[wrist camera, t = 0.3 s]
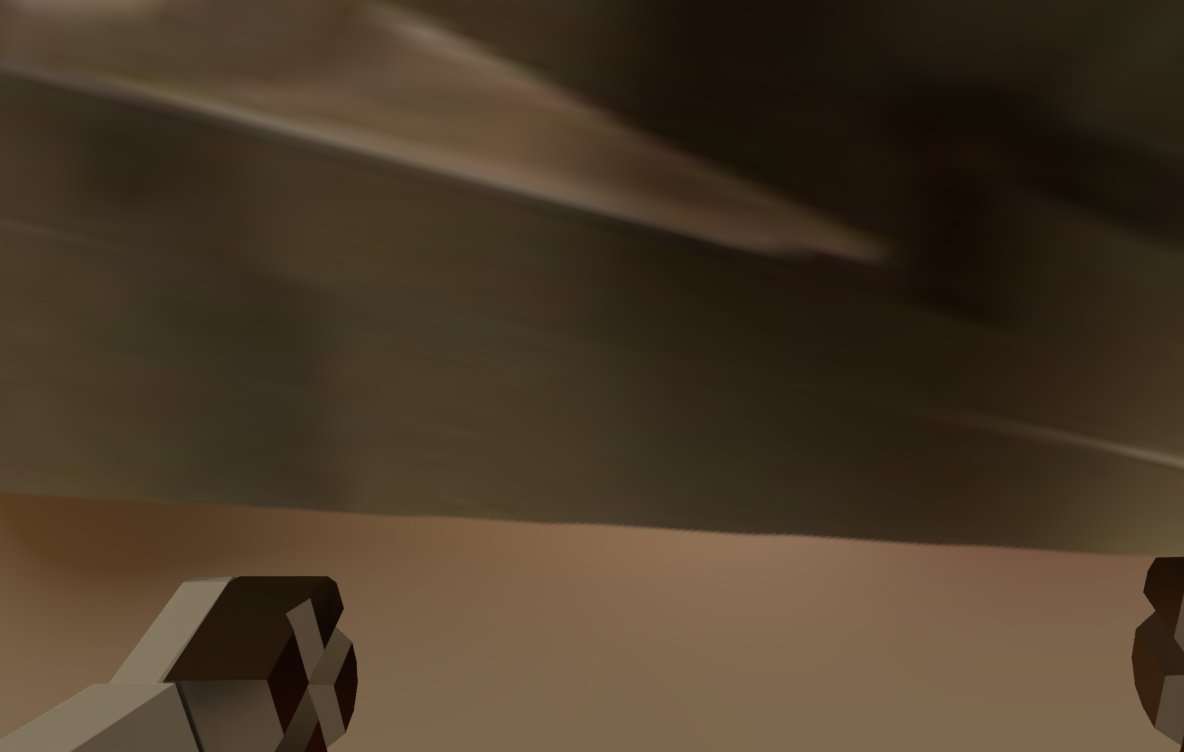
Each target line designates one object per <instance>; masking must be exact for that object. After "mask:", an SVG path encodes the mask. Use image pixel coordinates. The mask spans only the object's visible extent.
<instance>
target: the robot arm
mask: <svg viewBox="0 0 1184 752" xmlns="http://www.w3.org/2000/svg"><path fill="white" fill-rule="evenodd" d="M1143 593H1144V594H1145V596H1146V597H1147V599H1148V600H1149V602H1150V603H1151V604H1152V606H1153V607H1154V609H1155V610H1156V611H1155V612H1154V613H1153V614H1152V615H1151V616H1150V617H1149V618H1147V619H1146V620H1145V621H1144V622H1143V623H1142V624H1141V625H1140V626H1139V627H1138V628H1137V629H1136V632H1135V638H1134V645H1133V652H1132V664H1133V672H1134V680H1135V686H1136V689H1137V692H1138V695H1139V697H1140V701H1141V704H1142V706H1143V708H1144V710H1145V712H1146V714H1147V715H1148V717H1149V719H1150V721H1151V723H1152V724H1153V726H1154V728H1156V729H1157V730H1159V731H1160V732H1162V733H1163V734H1165V735H1166V736H1168V737H1169V738H1171V739H1172V740H1174V741H1176V742H1177V743H1178V744H1180V745H1181V750H1180V752H1184V557H1157V558H1155V560H1154V562H1153V563H1152V565H1151V566H1150V568H1149V570H1148V572H1147V577H1146V581H1145V586H1144V591H1143ZM343 609H344V607H343V603H342V600H341V597H340V593H339V589H338V586H337V583H336V582H335V581H333V580H332V579H331V578H329V577H328V576H240V577H238V578H237V577H195V578H193V579H190V580H188V581H185V582H183V583H182V584H181V586H180V587H179V589H178V590H177V591H176V593H175V594H174V595H173V597H172V598H171V599H170V601H169V602H168V603H167V605H166V606H165V607H164V609H163V610H162V611H161V613H160V614H159V616H158V617H157V618H156V620H155V621H154V622H153V624H152V625H151V627H150V628H149V629H148V630H147V632H146V633H145V635H144V636H143V637H142V639H141V640H140V641H139V643H138V644H137V645H136V647H135V648H134V650H133V651H132V652H131V654H130V655H129V657H128V658H127V659H126V660H125V662H124V663H123V665H122V666H121V667H120V669H119V670H118V671H117V673H116V674H115V675H114V677H113V678H112V680H111V681H110V682H109V683H108V684H93V685H91V686H90V687H88V688H86V689H85V690H83V691H81V692H80V693H78V694H76V695H75V696H73V697H71V698H69V699H68V700H66V701H65V702H63V703H61V704H59V705H58V706H56V707H55V708H53V709H51V710H49V711H48V712H46V713H44V714H43V715H41V716H39V717H38V718H36V719H34V720H33V721H31V722H30V723H28V724H26V725H24V726H22V727H21V728H19V729H18V730H16V731H14V732H13V733H11V734H9V735H7V736H6V737H4V738H2V739H1V740H0V752H327V747H329V746H330V745H331V744H332V743H334V742H335V741H336V740H337V739H339V738H340V737H341V736H342V735H344V734H345V733H346V730H347V728H348V725H349V722H350V720H351V717H352V714H353V712H354V706H355V699H356V692H357V684H358V678H357V661H356V657H355V652H354V648H353V643H352V641H351V640H349V639H348V638H347V637H346V636H345V635H344V634H343V633H342V632H340V630H339V629H337V628H336V624H337V622H338V620H339V618H340V616H341V614H342V611H343Z"/></svg>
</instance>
